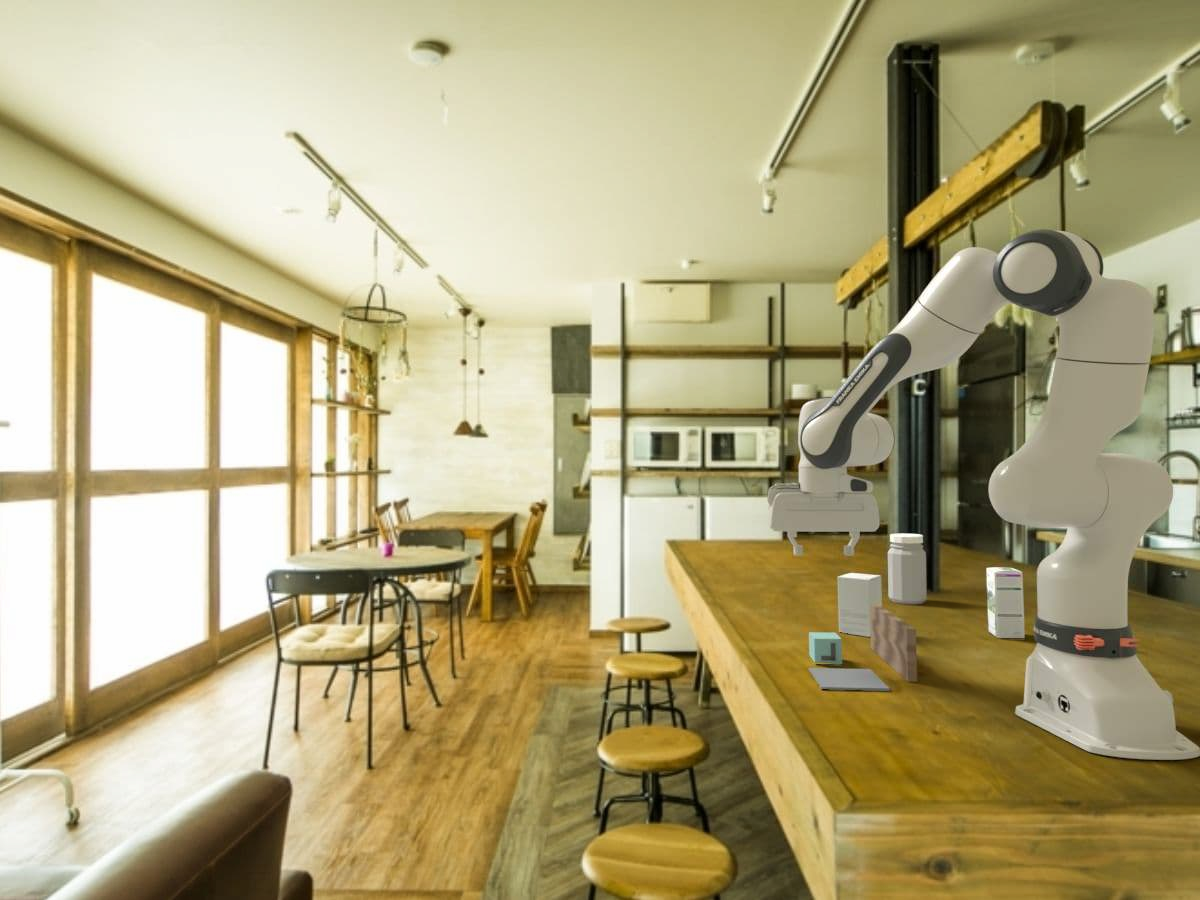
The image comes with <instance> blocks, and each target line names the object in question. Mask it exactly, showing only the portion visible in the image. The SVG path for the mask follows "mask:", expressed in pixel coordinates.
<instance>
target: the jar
mask: <svg viewBox="0 0 1200 900" xmlns="http://www.w3.org/2000/svg"><path fill="white" fill-rule="evenodd" d="M923 538H924V535H923V534H920V533H918V534H917V533H900V532H899V533H890V534H889V542H891V544H890V545H889V547H890V548H889V550H888V551H887V589H888V590H887V592H888V593H887V596H888V599H890V600H891V602H893V603H895V604H896V603H897V604H901V605H922V604H924V603H925V602H926V601H927V595H928V594H927V553H926V551H925V550H924V549H923V548H924V545H923V543H924V539H923Z"/></svg>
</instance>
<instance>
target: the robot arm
mask: <svg viewBox="0 0 1200 900" xmlns="http://www.w3.org/2000/svg"><path fill="white" fill-rule="evenodd" d="M1103 260H1104V259H1103V257H1102V255H1101V253H1100V251H1099V249H1098V248H1097V247H1096V246H1095V245H1094V244H1093V243H1092V242H1091V241H1089V240H1087V239H1085V238H1082V237H1080V236H1078V235H1076V234H1075V233H1072V232H1069V231H1064V230H1055V229H1054V230H1053V229H1045V228H1043V229H1042V228H1041V229H1034V230H1030V231H1026V232H1025V233H1022V234H1020V235H1018V236H1015V237H1014V238H1013V239H1011V240H1010V241H1009V242H1008V243H1007V244H1005V245H1004V246H1003V247H1002V249H1001V250H1000V251H999V253H998V252H996V251H993V250H992V249H989V248H985V247H979V246H978V247H977V246H974V247H973V246H972V247H966V248H964V249H963V248H962V249H961V250H959V251H957V253H955V254H954V255H953V256H952V257H951V258H950V259H949V260H948V261H947V262H946V263H945V265H943V266H942V267H941V269H940V270H939V271H938V272H937V273H936V274H935V276H934V277H933V278H932V279H931V281H930V282H929V283H928V285H926V287H925V288H924V290H923V291H922V292H921V294H920V296H919V297H918V299H917V300H916V301H915V303H914V304H913V306H912V307H911V308H910V309H909V311H908V312H907V313H906V314H905V316H904V317H903V318H902V319H901V321H900V322H898V323H897V325H896V326H895V327H894V328H893V329H892V330H890V332H889V333H888V334H887V335H885V337H882V339H881V340H879V342H877V343H876V344H875V345H874V346H873V347H872V348H871V349H870V350H869V351H868V353H867V354H866V355H865V356H864V357H863V359H862V360H861V361H860V362H859V363H858V364H857V366H856V367H855V368H854V369H853V371H852V372H851V374H849V376H848V377H846V380H845V381H844V382H843V383H842V384H841V386H840V387H838V390H837V391H836V392H835V393H834V394H833V395H832V396H825V397H818V398H814V399H811V400H808V401H807V402H805V403H804V404H803V405H802V407H801V409H800V412H799V417H798V429H797V431H798V432H797V435H798V436H797V438H798V439H797V444H798V445H797V446H798V449H799V452H800V459H799V461H798V462H799V463H798V482H789V483H782V482H776V483H775V484H774V485H772V486H771V487H769V488H768V490H767V502H768V504H769V505H770V507H769V512H768V526H769V528H770V529H771V530H772V531H773V532H787V538H788V540H789V541H790V543H791V545H793V555H794V556H803V555H804V551H803V550H804V545H802V544H798V543H797V541H796V539H795V538H797V537H798V534H797V533H798V532H818V533H819V532H825V533H826V532H831V533H832V532H846V533H847V532H849V533H848V534H849V536H850V540H849V542H848V543H847V545H843V555H844V556H854V555H855V547H856V545H857V543H858V541H859V540H860V538H861V537H860V532H862V533H864V532H866V533H867V532H870V533H871V532H876V531H877V530H878V529H879V527H880V513H879V512H880V511H879V505H878V501H877V498H876V497H875V496H874V495H873V494H871V492H873V490H874V484H873V482H872V481H870V480H866V479H863V478H860V477H858V476H856V475H850V474H848V471H847V468H848V467H861V466H862V467H863V466H865V467H867V466H874V465H877V464H881V463H883V462H885V461H886V460H888V458H889V457H890V455H891V454H892V452H893V450H894V447H895V442H896V441H895V439H896V438H895V437H896V436H895V431H894V429H893V427H892V424H891V422H889V421H888V419H887V418H885V417H884V416H881V415H878V414H874V413H871V410H872V409H873V408H874V407H875V405H876V404H877V403H878V402H879V400H881V398H882V397H883V396H884V395H885V393H886V392H887V391H889V389H891V388H893V386H895V385H896V384H898V383H899V382H902V381H903V380H906V379H908V378H910V377H913V376H916V375H919V374H923V373H926V372H930V371H935V370H939V369H942V368H945V367H948V366H950V365H953V364H954V363H955V362H956V361H957V360H958V359H960V357H961V356H963V355H964V353H966V352H967V351H968V349H970V348H971V346H973V344H974V342H975V341H976V340H977V339H978V337H979V336H980V335H981V333H982V332H983V330H984V329H985V328H986V326H987V325H988V324H989V322H990V321H991V319H993V318H994V316H995V315H996V314H997V313H998V311H1000V310H1001V309H1002V308H1003V307H1005V306H1006V305H1008V304H1014V305H1016V306H1019V307H1021V308H1024V309H1028V310H1031V311H1034V312H1037V313H1040V314H1042V315H1046V316H1048V317H1055V318H1056V319H1057V321H1058V322H1057V323H1058V327H1059V328H1058V329H1059V336H1058V341H1057V342H1058V343H1057V349H1056V354H1055V355H1056V356H1055V361H1054V367H1053V372H1052V376H1051V377H1052V379H1051V382H1050V388H1049V394H1048V397H1047V402H1046V405H1045V408H1044V411H1043V414H1042V415H1041V418H1040V419H1039V422H1038V423H1037V425H1036V426H1035V428H1034V430H1033V432H1032V433H1031V434H1030V435H1029V437H1028V438H1027V440H1026V441H1025V442H1024V444H1023V445H1021V446H1020V448H1019V449H1018V450H1017V451H1015V452H1014V453H1013V454H1012V455H1010V456H1009V457H1007V458H1006V459H1004V460H1003V461H1001V462H1000V463H999V464H998V465H996V467H995V468H994V469H993V472H992V473H991V474H990V475H991V476H990V478H989V481H988V482H989V483H988V498H989V501H990V503H991V506H992V507H993V509H994V511H995V512H996V514H997V515H998V516H999V517H1000V518H1001V519H1003V520H1004V521H1006V522H1008V523H1012V524H1017V525H1020V526H1021V525H1022V526H1026V527H1033V528H1038V529H1039V528H1041V529H1044V528H1045V529H1049V528H1050V529H1052V528H1055V529H1056V528H1067V530H1066V533H1065V536H1064V539H1063V541H1062V542H1061V544H1060V545H1059V546H1058V548H1057V549H1056V550H1055V551H1054V552H1052V553H1050V554H1049V555H1047V556H1045V557H1044V558H1043V559H1042V560H1041V562H1040V563H1038V567H1037V569H1036V597H1037V598H1036V599H1037V601H1036V603H1037V615H1036V616H1035V617H1034V620H1033V621H1034V624H1033V632H1034V634H1033V635H1034V640H1035V642H1037V643H1036V645H1035V648H1034V650H1033V651H1032V652H1031V654H1030V655H1029V656H1028V657H1027V659H1026V662H1025V676H1024V677H1025V678H1024V690H1023V691H1024V692H1023V693H1024V694H1023V703H1022V704H1019V705H1016V706H1015V711H1014V715H1016V716H1018V717H1020V718H1022V719H1024V720H1026V721H1028V722H1030V723H1031V724H1033V725H1035V726H1037V727H1039V728H1041V729H1043V730H1045V731H1048V732H1049V733H1051V734H1052V735H1054V736H1057V737H1058V738H1061V739H1063V740H1065V741H1067V742H1069V743H1071V744H1073V745H1074V746H1076V747H1079V748H1081V749H1083V750H1084V751H1086V752H1089V753H1093V754H1097V755H1102V756H1109V757H1116V758H1123V759H1124V758H1125V759H1133V760H1134V759H1137V760H1159V761H1160V760H1161V761H1164V760H1165V761H1167V760H1169V761H1173V760H1174V761H1175V760H1178V761H1179V760H1189V759H1195V758H1198V757H1200V747H1199V746H1198V745H1197V744H1196V743H1194V742H1193V741H1192V740H1190V739H1188V737H1186V736H1185V735H1183V734H1182V733H1180V732H1179V731H1178V730H1177V728H1176V727H1177V726H1176V720H1175V718H1176V717H1175V711H1174V699H1173V695H1172V693H1171V692H1170V691H1169V690H1163V689H1162V688H1161V687H1160V686H1159V685H1158V683H1157V682H1156V680H1155V679H1154V678H1153V677H1152V675H1151V674H1150V673H1149V671H1148V670H1147V668H1145V666H1144V665H1143V664H1142V662H1141V661H1140V660H1139V658H1138V656H1137V654H1138V648H1140V645H1139V644H1136V642H1140V639H1139V638H1135V637H1136V636H1135V635H1134V633H1133V631H1132V626H1131V625H1130V624H1129V623H1128V593H1129V592H1128V591H1129V589H1128V585H1129V584H1128V583H1129V573H1130V569H1131V568H1130V567H1131V564H1132V560H1133V558H1134V555H1135V552H1136V550H1137V547H1138V545H1139V543H1140V541H1141V539H1142V538H1143V536H1144V534H1145V533H1146V532H1147V530H1148V529H1149V528H1150V527H1151V526H1152V525H1153V524H1154V523H1155V522H1156V521H1157V520H1158V519H1160V518H1161V517H1162V516H1163V515H1165V514H1166V513H1167V511H1168V510H1169V508H1170V506H1171V504H1172V501H1173V498H1174V485H1173V481H1172V479H1171V476H1170V474H1169V473H1168V471H1167V469H1165V467H1164V466H1163V465H1162V464H1161V463H1159V462H1158V461H1156V460H1154V459H1150V458H1146V457H1141V456H1137V455H1132V454H1128V453H1127V454H1126V453H1121V452H1112V453H1111V452H1109V453H1108V452H1105V453H1104V452H1103V453H1102V451H1103V450H1104V448H1105V446H1106V445H1107V444H1108V443H1109V441H1110V440H1112V438H1113V437H1114V436H1115V435H1117V434H1118V433H1119V432H1121V431H1123V430H1125V429H1126V428H1127V427H1129V426H1131V425H1133V424H1134V423H1135V422H1136V420H1137V419H1138V417H1139V415H1140V413H1141V411H1142V410H1141V409H1142V405H1143V400H1144V394H1145V388H1146V385H1147V378H1148V373H1149V368H1150V362H1151V358H1152V357H1151V356H1152V352H1153V341H1154V328H1155V327H1154V324H1155V323H1154V321H1155V319H1154V318H1155V316H1154V310H1155V309H1154V299H1153V296H1152V294H1151V293H1150V291H1149V289H1148V288H1146V287H1144V286H1143V285H1141V284H1139V283H1136V282H1135V281H1130V280H1127V279H1120V278H1119V279H1118V278H1107V277H1104V276H1103V273H1104V261H1103Z"/></svg>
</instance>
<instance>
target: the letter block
mask: <svg viewBox="0 0 1200 900" xmlns="http://www.w3.org/2000/svg"><path fill="white" fill-rule="evenodd" d="M842 640H843V639H842V638H841V637H840V636H839V635H838V634H837V633H836V632H822V631H821V632H816V631H815V632H813V631H809V632H808V654H809V655H810V657H811V658H812V660H813V661H814V662H815V663H831V664H842V665H843V644H842V643H843V641H842ZM809 655H808V656H809Z"/></svg>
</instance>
